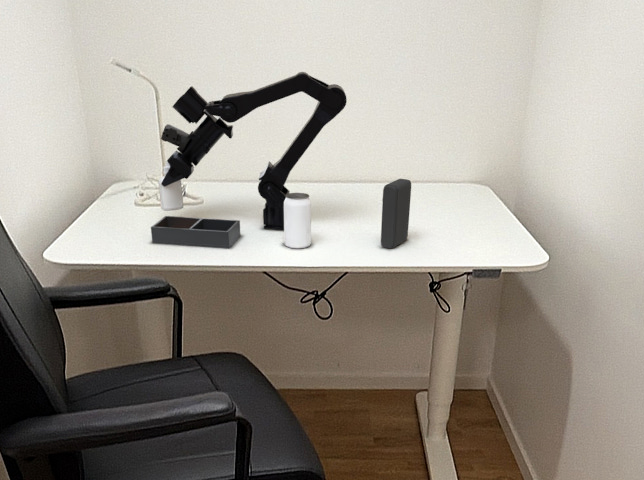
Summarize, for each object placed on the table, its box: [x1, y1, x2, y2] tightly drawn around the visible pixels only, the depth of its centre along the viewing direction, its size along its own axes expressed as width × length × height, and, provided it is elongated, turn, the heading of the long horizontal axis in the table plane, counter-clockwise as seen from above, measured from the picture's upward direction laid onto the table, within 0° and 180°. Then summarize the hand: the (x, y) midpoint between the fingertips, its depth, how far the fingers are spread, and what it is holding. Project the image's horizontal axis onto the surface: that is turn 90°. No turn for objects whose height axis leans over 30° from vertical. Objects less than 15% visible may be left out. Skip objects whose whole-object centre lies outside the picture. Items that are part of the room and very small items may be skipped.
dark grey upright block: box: [380, 178, 412, 249], centre depth 179 cm, size 9×4×15 cm, turn 150°
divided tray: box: [150, 215, 241, 249], centre depth 182 cm, size 10×19×4 cm, turn 80°
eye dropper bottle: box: [157, 160, 184, 212], centre depth 188 cm, size 4×6×12 cm
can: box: [283, 192, 312, 250], centre depth 178 cm, size 6×6×12 cm
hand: (164, 183), depth 188 cm, fingers closed on eye dropper bottle, 4 cm apart
